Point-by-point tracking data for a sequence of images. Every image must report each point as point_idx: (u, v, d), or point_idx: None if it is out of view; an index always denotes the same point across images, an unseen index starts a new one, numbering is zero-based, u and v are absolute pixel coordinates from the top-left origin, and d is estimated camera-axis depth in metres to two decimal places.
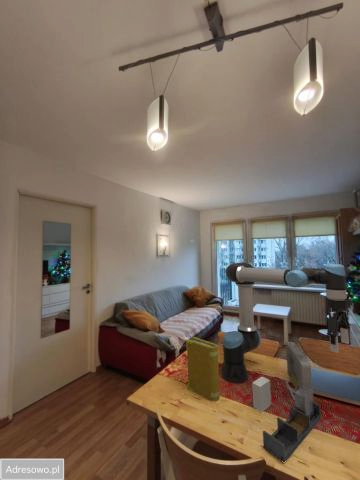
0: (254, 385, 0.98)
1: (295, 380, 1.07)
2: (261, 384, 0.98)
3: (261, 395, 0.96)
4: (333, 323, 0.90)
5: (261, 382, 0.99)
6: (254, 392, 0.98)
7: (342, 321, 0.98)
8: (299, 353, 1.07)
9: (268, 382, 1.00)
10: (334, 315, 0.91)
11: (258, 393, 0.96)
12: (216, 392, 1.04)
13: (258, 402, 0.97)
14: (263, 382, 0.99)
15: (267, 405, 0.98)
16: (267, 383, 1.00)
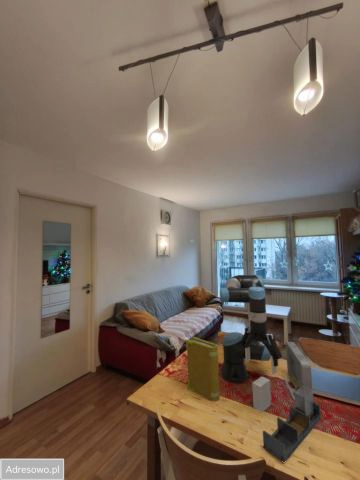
0: (254, 385, 0.98)
1: (295, 380, 1.07)
2: (261, 384, 0.98)
3: (261, 395, 0.96)
4: None
5: (261, 382, 0.99)
6: (254, 392, 0.98)
7: None
8: (299, 353, 1.07)
9: (268, 382, 1.00)
10: None
11: (258, 393, 0.96)
12: (216, 392, 1.04)
13: (258, 402, 0.97)
14: (263, 382, 0.99)
15: (267, 405, 0.98)
16: (267, 383, 1.00)
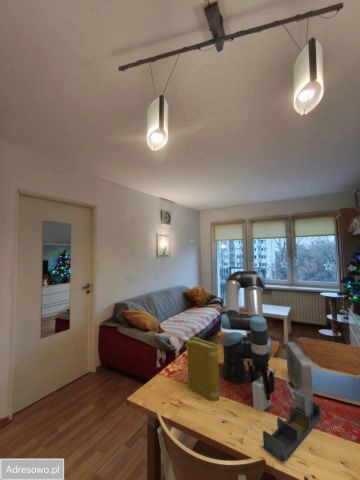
0: (254, 385, 0.98)
1: (295, 380, 1.07)
2: (261, 384, 0.98)
3: (261, 395, 0.96)
4: None
5: (261, 382, 0.99)
6: (254, 392, 0.98)
7: None
8: (299, 353, 1.07)
9: None
10: None
11: (258, 393, 0.96)
12: (216, 392, 1.04)
13: (258, 402, 0.97)
14: None
15: None
16: None
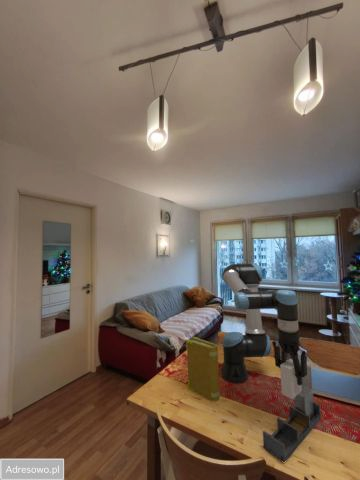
0: (282, 368, 0.84)
1: None
2: (291, 366, 0.84)
3: (292, 379, 0.82)
4: None
5: (290, 364, 0.85)
6: (282, 376, 0.84)
7: None
8: (299, 353, 1.07)
9: None
10: None
11: (288, 377, 0.83)
12: (216, 392, 1.04)
13: (287, 387, 0.83)
14: (293, 364, 0.85)
15: None
16: None
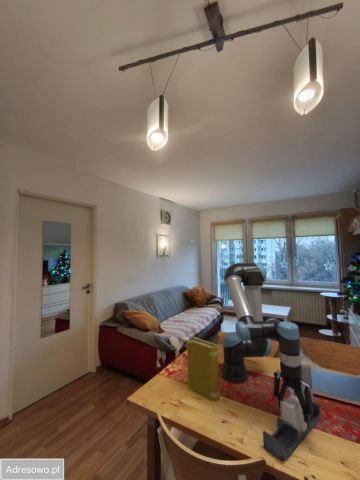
0: (285, 406, 0.83)
1: None
2: (293, 405, 0.83)
3: (294, 418, 0.81)
4: None
5: (292, 402, 0.85)
6: (285, 414, 0.83)
7: None
8: None
9: None
10: None
11: (290, 416, 0.82)
12: (216, 392, 1.04)
13: None
14: (295, 402, 0.84)
15: (300, 429, 0.83)
16: None
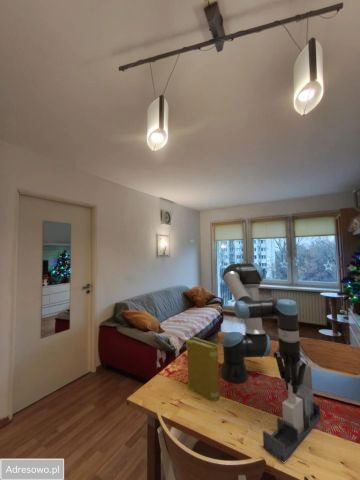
0: (285, 406, 0.83)
1: None
2: (293, 405, 0.83)
3: (294, 418, 0.81)
4: None
5: None
6: (285, 414, 0.83)
7: None
8: None
9: (300, 402, 0.85)
10: None
11: (290, 416, 0.82)
12: (216, 392, 1.04)
13: None
14: (295, 402, 0.84)
15: (300, 429, 0.83)
16: (300, 403, 0.85)
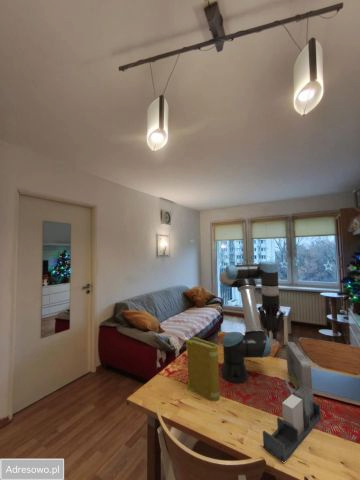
0: (285, 406, 0.83)
1: (295, 380, 1.07)
2: (293, 405, 0.83)
3: (294, 418, 0.81)
4: None
5: (292, 402, 0.85)
6: (285, 414, 0.83)
7: None
8: (299, 353, 1.07)
9: (300, 402, 0.85)
10: None
11: (290, 416, 0.82)
12: (216, 392, 1.04)
13: None
14: (295, 402, 0.84)
15: (300, 429, 0.83)
16: (300, 403, 0.85)
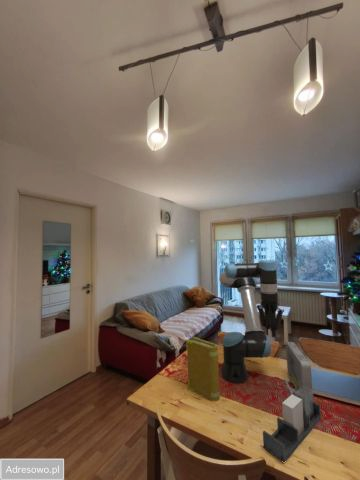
0: (285, 406, 0.83)
1: (295, 380, 1.07)
2: (293, 405, 0.83)
3: (294, 418, 0.81)
4: None
5: (292, 402, 0.85)
6: (285, 414, 0.83)
7: None
8: (299, 353, 1.07)
9: (300, 402, 0.85)
10: None
11: (290, 416, 0.82)
12: (216, 392, 1.04)
13: None
14: (295, 402, 0.84)
15: (300, 429, 0.83)
16: (300, 403, 0.85)
